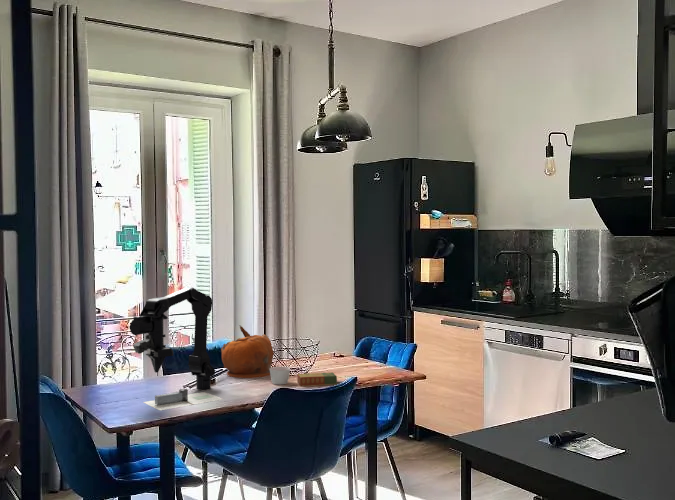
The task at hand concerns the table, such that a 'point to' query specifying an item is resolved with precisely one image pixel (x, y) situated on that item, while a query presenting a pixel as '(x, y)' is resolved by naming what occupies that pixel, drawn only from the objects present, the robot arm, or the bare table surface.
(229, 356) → the pumpkin
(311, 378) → the carton
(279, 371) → the candle
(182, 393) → the bar
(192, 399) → the board
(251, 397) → the table surface
